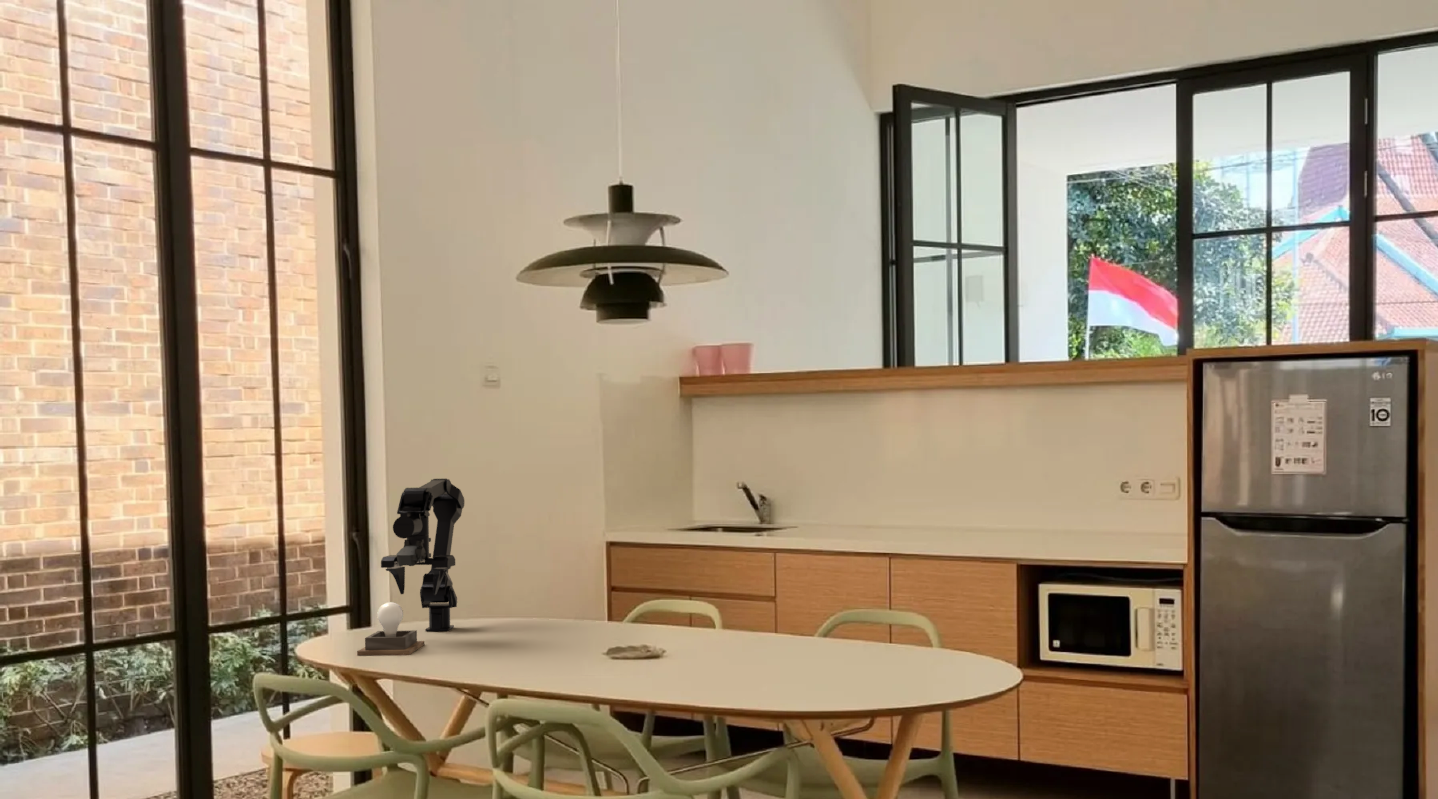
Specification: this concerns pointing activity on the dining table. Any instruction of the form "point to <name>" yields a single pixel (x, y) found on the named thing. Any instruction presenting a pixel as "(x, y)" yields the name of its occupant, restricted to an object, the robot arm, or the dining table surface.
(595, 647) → the dining table surface
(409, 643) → the socket block
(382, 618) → the lightbulb
